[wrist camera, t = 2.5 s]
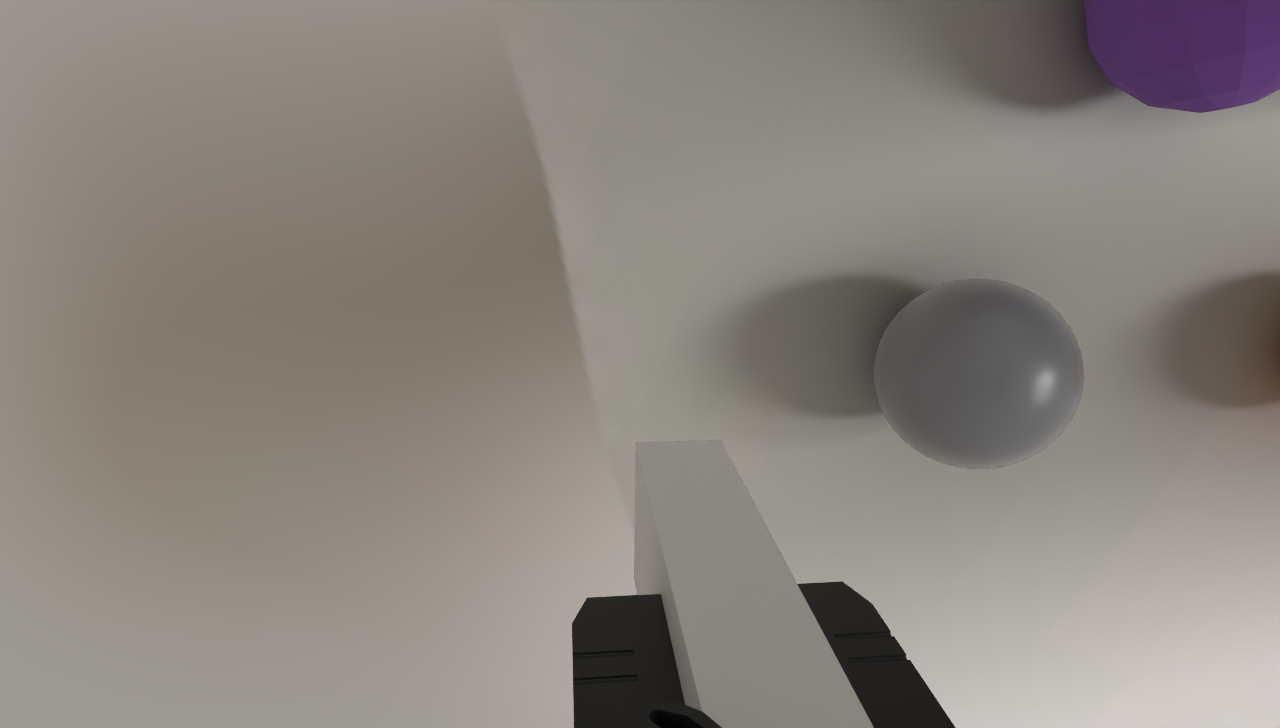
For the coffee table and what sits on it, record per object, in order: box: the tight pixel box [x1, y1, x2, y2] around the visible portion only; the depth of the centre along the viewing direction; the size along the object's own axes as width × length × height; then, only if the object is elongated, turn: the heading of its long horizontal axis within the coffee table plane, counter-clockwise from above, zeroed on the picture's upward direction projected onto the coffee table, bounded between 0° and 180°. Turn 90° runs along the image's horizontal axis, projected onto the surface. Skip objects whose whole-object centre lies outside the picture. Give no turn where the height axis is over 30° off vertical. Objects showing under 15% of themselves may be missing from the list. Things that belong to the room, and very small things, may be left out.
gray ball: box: [874, 279, 1084, 469], centre depth 21 cm, size 6×6×6 cm
